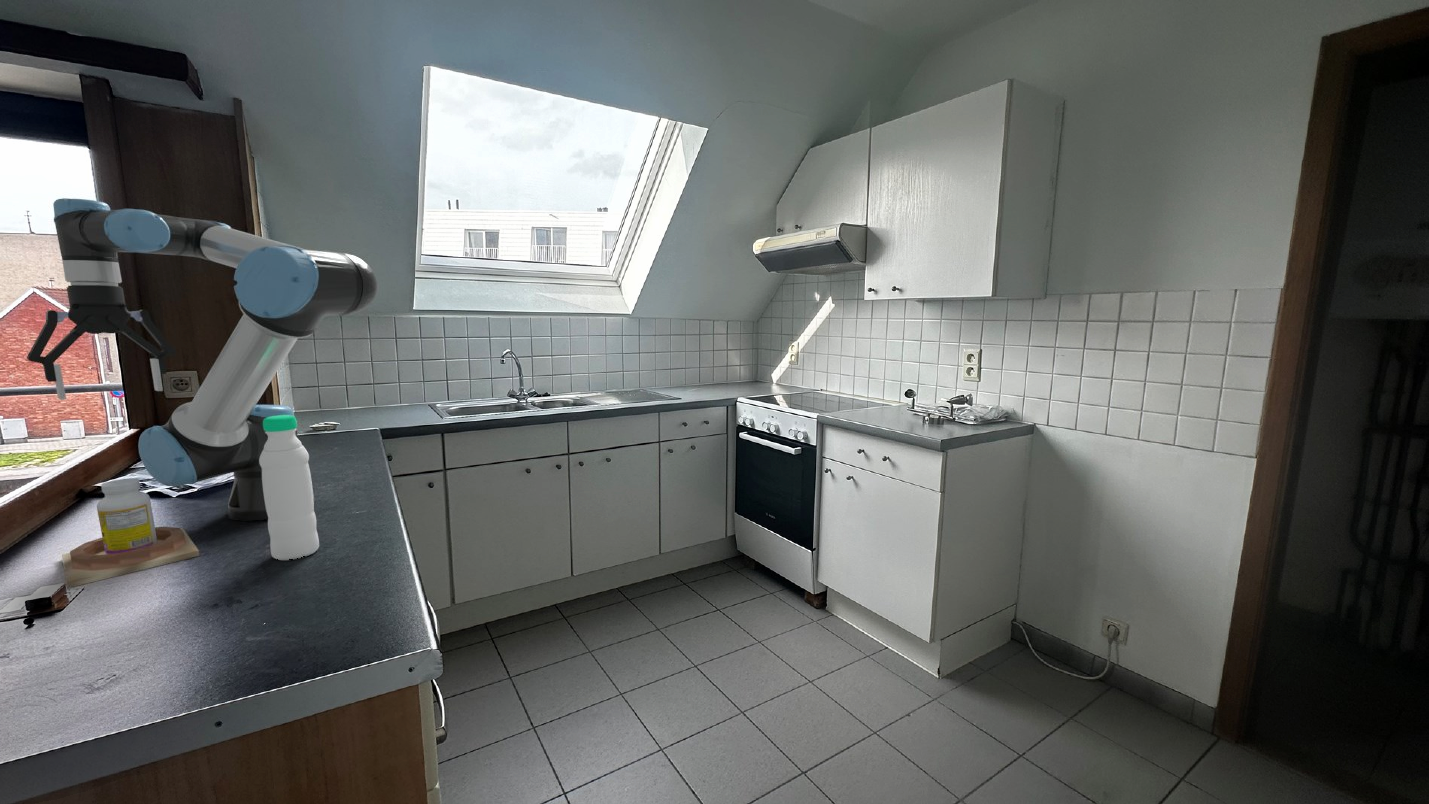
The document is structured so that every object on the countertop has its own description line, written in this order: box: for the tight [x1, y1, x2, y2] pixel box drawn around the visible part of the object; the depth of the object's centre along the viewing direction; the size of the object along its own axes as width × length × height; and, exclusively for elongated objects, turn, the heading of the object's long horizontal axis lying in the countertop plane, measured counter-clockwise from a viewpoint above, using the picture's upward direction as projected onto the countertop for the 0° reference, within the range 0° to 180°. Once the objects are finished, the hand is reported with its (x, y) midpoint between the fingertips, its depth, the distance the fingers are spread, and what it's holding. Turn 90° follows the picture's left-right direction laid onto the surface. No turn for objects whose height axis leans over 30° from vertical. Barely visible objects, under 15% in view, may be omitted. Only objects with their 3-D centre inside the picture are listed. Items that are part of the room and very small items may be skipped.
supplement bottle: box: [96, 477, 157, 554], centre depth 104 cm, size 7×7×13 cm
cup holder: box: [61, 526, 200, 588], centre depth 105 cm, size 16×16×3 cm
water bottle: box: [259, 415, 320, 561], centre depth 105 cm, size 7×7×25 cm
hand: (112, 394), depth 117 cm, fingers open, 13 cm apart
